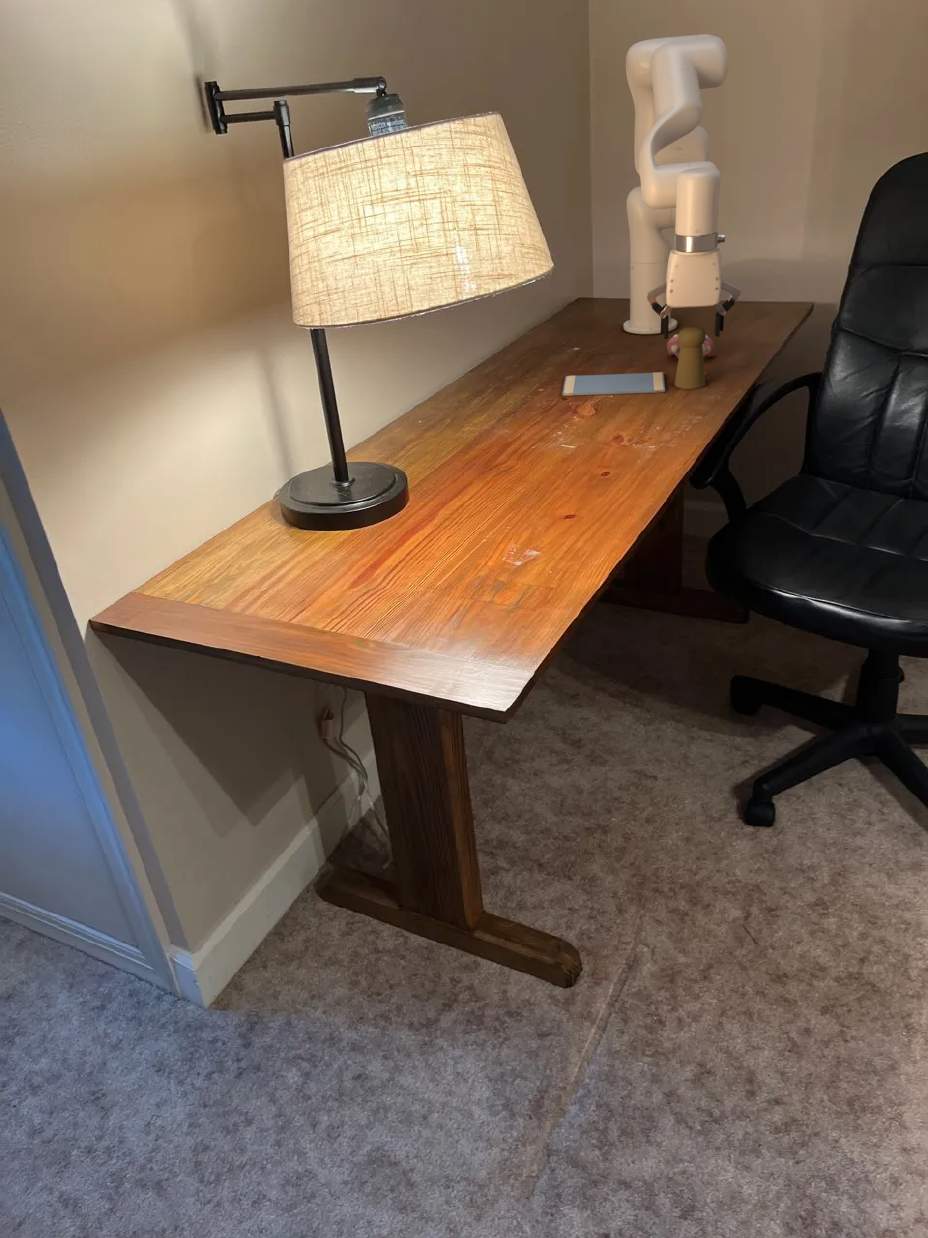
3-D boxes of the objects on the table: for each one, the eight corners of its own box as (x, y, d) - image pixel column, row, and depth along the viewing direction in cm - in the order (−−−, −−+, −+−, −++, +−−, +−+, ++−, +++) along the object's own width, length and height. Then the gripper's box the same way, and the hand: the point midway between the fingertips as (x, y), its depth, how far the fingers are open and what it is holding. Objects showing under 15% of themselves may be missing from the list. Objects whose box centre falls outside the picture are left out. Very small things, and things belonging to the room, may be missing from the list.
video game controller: (666, 366, 201) (664, 341, 195) (670, 351, 203) (668, 326, 197) (713, 367, 197) (712, 342, 192) (716, 352, 199) (716, 326, 194)
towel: (565, 378, 195) (565, 375, 194) (663, 375, 191) (663, 371, 191) (562, 395, 185) (562, 392, 185) (665, 392, 182) (665, 388, 182)
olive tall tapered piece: (703, 378, 187) (706, 322, 181) (707, 387, 182) (710, 330, 176) (672, 380, 188) (674, 324, 182) (675, 389, 183) (677, 332, 177)
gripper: (742, 235, 173) (735, 328, 182) (647, 241, 176) (645, 332, 185) (746, 244, 167) (739, 339, 176) (648, 249, 170) (646, 343, 179)
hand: (691, 335), depth 181 cm, fingers open, 9 cm apart
